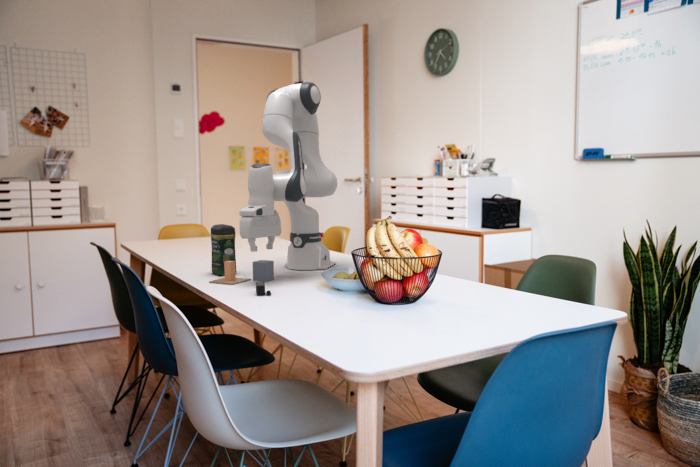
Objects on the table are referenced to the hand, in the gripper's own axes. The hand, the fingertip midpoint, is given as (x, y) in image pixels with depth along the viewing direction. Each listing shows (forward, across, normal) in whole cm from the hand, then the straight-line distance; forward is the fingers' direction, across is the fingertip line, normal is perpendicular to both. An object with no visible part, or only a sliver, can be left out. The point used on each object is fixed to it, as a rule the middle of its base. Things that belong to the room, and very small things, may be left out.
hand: (261, 250), depth 199 cm
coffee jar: (+10, -6, -21) cm, 24 cm away
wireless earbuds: (+12, +18, +13) cm, 25 cm away
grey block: (+10, -1, 0) cm, 11 cm away
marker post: (+11, +6, -9) cm, 15 cm away
